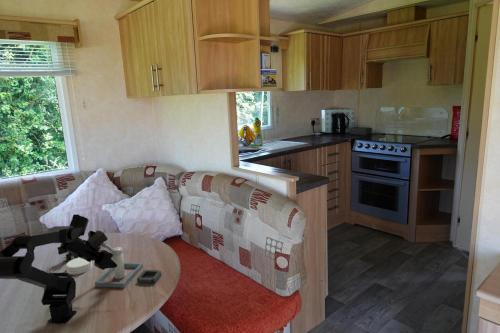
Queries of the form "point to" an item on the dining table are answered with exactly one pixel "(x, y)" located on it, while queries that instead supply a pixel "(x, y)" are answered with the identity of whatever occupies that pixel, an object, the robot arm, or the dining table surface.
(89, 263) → the white round disc
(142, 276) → the grey piece
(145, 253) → the dining table surface
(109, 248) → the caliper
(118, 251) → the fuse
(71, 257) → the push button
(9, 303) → the dining table surface
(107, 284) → the parts tray
